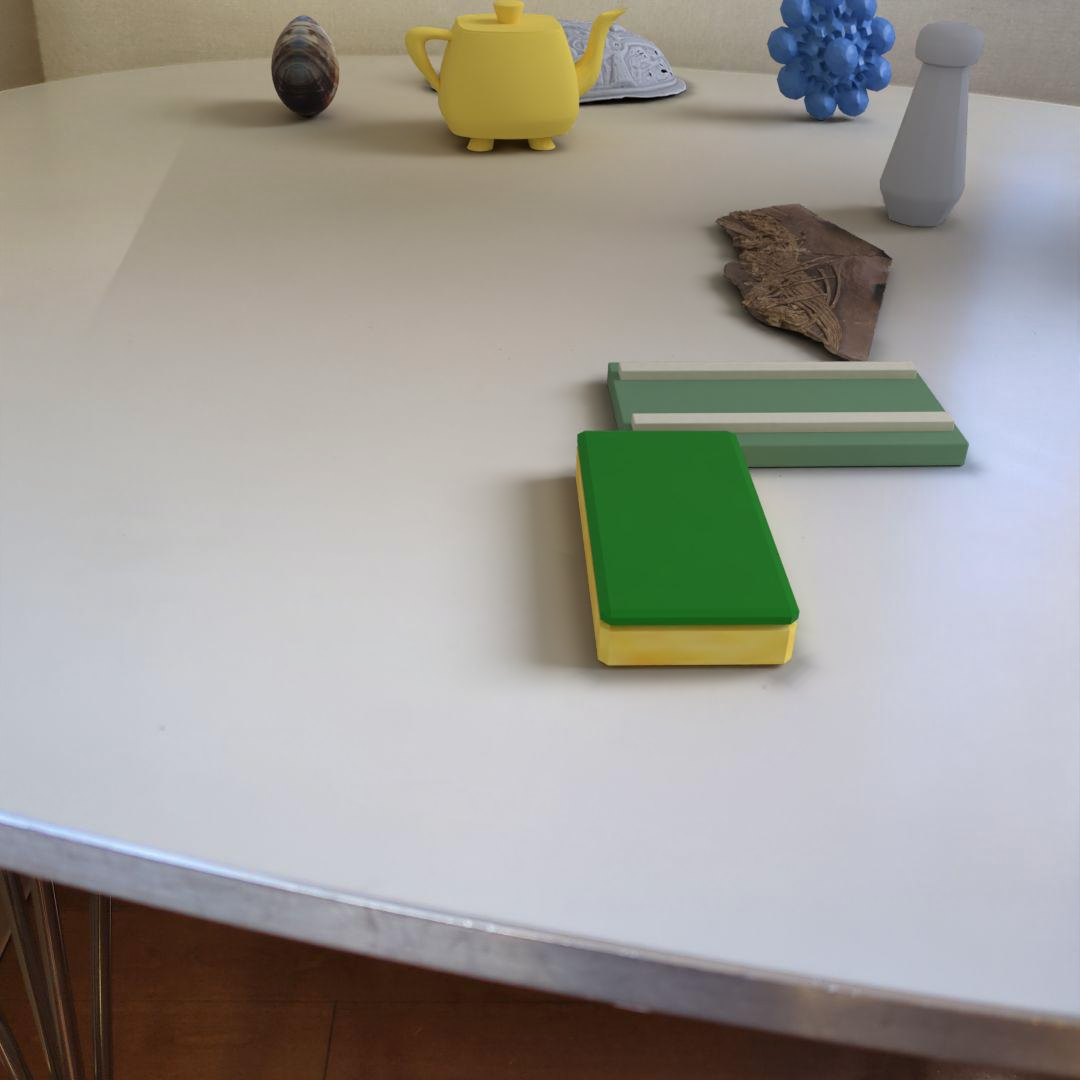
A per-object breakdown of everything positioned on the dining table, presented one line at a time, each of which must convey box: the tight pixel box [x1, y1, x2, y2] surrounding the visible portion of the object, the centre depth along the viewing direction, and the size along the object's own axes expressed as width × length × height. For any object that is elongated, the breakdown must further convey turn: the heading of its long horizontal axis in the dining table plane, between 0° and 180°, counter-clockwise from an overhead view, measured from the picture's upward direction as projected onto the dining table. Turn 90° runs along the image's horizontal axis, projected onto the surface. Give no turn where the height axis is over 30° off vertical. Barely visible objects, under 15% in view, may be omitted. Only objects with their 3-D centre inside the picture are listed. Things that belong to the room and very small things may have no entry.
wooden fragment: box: [714, 202, 893, 362], centre depth 76 cm, size 26×11×1 cm, turn 176°
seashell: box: [270, 14, 340, 117], centre depth 104 cm, size 10×6×8 cm, turn 2°
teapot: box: [404, 0, 628, 152], centre depth 99 cm, size 18×11×11 cm, turn 98°
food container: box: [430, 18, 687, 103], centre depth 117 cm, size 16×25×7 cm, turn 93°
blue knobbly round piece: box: [766, 0, 896, 121], centre depth 105 cm, size 12×7×12 cm, turn 96°
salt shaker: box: [879, 20, 985, 227], centre depth 83 cm, size 6×6×13 cm
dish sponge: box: [575, 430, 800, 666], centre depth 49 cm, size 7×14×2 cm, turn 2°
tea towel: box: [606, 360, 970, 468], centre depth 59 cm, size 16×9×2 cm, turn 93°
